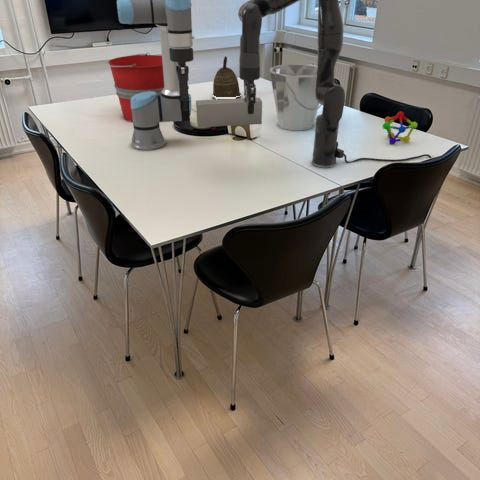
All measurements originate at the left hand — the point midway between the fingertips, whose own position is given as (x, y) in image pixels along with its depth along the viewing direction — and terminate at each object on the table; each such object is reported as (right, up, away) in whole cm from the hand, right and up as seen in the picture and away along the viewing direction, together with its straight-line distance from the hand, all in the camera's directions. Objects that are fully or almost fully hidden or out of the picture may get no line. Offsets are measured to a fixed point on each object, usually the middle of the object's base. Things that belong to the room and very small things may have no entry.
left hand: (185, 114), depth 151 cm
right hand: (+22, +6, +18) cm, 30 cm away
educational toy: (+93, +3, +60) cm, 111 cm away
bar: (+15, +2, +20) cm, 25 cm away
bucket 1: (-34, +27, +96) cm, 105 cm away
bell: (+10, +48, +131) cm, 139 cm away
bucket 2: (+48, +18, +82) cm, 97 cm away
